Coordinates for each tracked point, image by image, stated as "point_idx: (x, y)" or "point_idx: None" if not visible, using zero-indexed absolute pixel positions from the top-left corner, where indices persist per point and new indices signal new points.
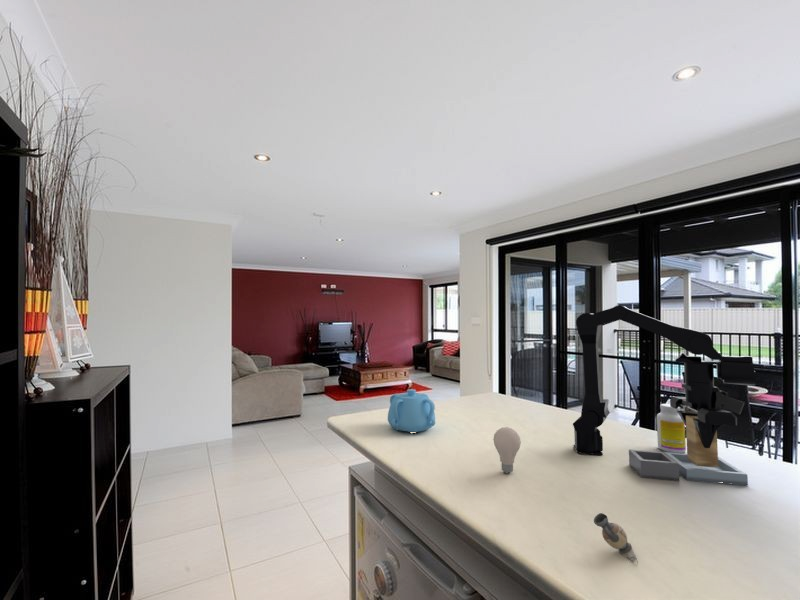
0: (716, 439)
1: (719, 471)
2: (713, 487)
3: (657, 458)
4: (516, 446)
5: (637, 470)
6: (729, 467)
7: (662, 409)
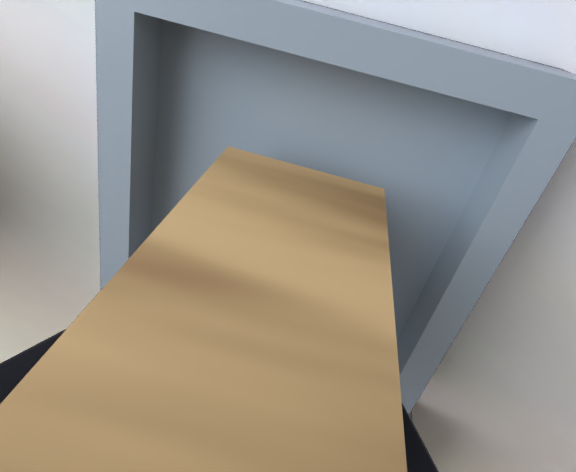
0: (397, 382)
1: (482, 267)
2: (517, 313)
3: None
4: None
5: None
6: (382, 76)
7: None
